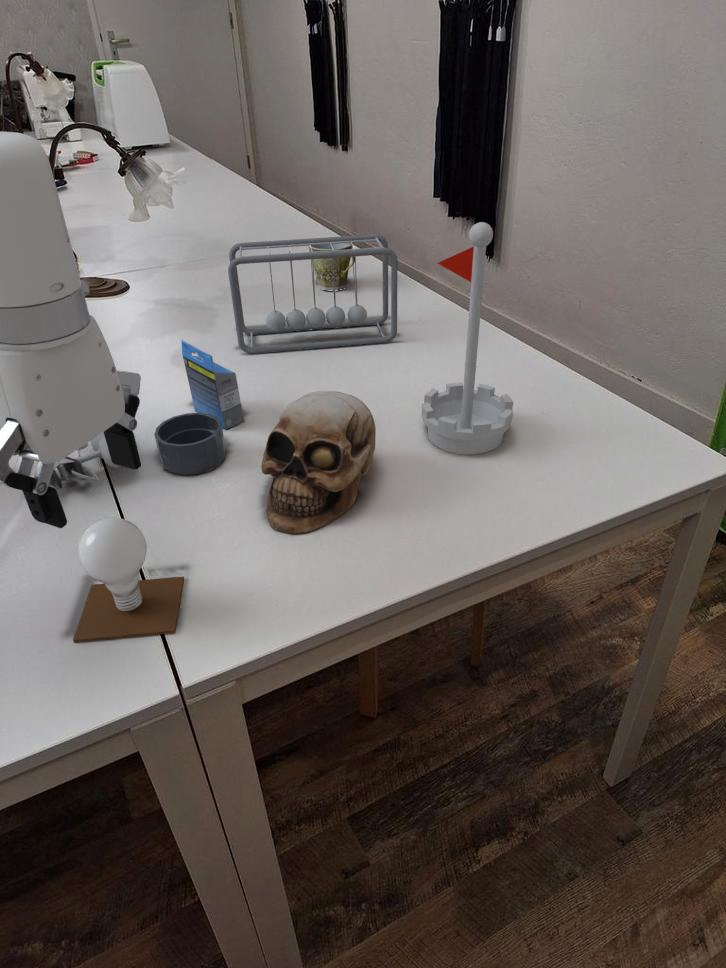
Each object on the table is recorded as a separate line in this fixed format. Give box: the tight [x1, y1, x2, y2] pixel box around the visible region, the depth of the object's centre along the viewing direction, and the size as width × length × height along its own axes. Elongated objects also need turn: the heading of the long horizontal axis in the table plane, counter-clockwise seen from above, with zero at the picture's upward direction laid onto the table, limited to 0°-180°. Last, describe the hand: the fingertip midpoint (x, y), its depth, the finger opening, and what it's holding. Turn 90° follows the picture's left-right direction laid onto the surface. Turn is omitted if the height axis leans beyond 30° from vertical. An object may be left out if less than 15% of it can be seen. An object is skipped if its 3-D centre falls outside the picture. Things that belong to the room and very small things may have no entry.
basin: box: [153, 412, 227, 476], centre depth 91 cm, size 9×9×5 cm
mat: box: [72, 576, 185, 644], centre depth 69 cm, size 10×8×1 cm
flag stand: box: [421, 221, 514, 456], centre depth 88 cm, size 13×13×30 cm
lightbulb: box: [77, 517, 148, 611], centre depth 66 cm, size 6×6×11 cm
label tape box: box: [180, 338, 245, 430], centre depth 99 cm, size 9×4×12 cm, turn 44°
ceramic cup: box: [308, 243, 355, 291], centre depth 149 cm, size 13×10×10 cm
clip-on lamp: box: [50, 432, 124, 490], centre depth 91 cm, size 12×6×18 cm
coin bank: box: [260, 390, 377, 535], centre depth 83 cm, size 16×17×13 cm
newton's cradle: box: [227, 233, 399, 355], centre depth 123 cm, size 30×10×18 cm, turn 98°
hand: (91, 492), depth 60 cm, fingers open, 9 cm apart
